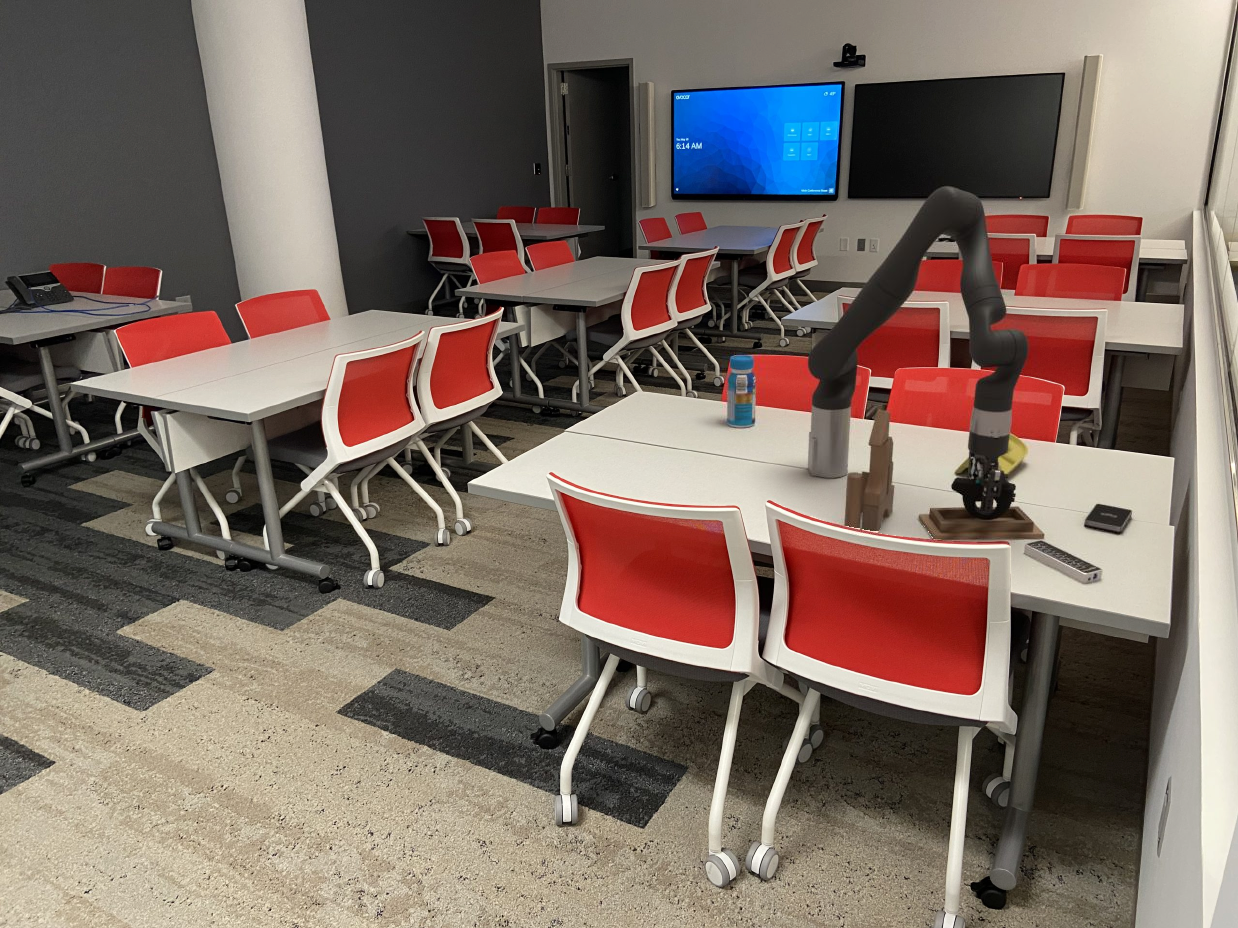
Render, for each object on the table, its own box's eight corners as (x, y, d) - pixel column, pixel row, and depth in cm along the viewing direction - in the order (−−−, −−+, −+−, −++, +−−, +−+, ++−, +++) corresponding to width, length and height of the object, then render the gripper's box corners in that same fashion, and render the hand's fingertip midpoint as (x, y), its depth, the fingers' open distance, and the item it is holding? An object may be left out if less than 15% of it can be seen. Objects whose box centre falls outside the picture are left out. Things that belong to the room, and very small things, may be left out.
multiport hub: (1039, 550, 174) (1041, 539, 173) (1102, 580, 161) (1103, 569, 161) (1022, 554, 173) (1023, 543, 172) (1083, 585, 160) (1085, 574, 159)
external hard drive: (1131, 518, 186) (1132, 510, 186) (1120, 537, 178) (1121, 527, 178) (1095, 511, 190) (1096, 503, 190) (1082, 529, 182) (1084, 520, 182)
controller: (1011, 526, 179) (1017, 480, 175) (947, 517, 184) (951, 472, 181) (1012, 518, 182) (1018, 473, 179) (949, 509, 188) (954, 465, 184)
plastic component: (1004, 476, 205) (967, 451, 209) (987, 499, 210) (951, 474, 214) (1034, 448, 218) (998, 425, 222) (1018, 470, 223) (983, 447, 227)
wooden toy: (862, 507, 197) (868, 399, 188) (892, 512, 194) (900, 402, 185) (842, 533, 184) (848, 418, 176) (874, 538, 181) (882, 422, 172)
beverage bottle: (720, 424, 258) (720, 357, 251) (739, 418, 263) (739, 352, 256) (743, 430, 252) (743, 362, 245) (761, 423, 257) (762, 356, 251)
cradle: (933, 540, 179) (934, 526, 178) (918, 518, 190) (919, 505, 189) (1043, 538, 178) (1045, 524, 177) (1023, 516, 188) (1024, 503, 187)
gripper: (959, 418, 184) (951, 494, 189) (983, 440, 170) (974, 521, 176) (996, 418, 183) (987, 493, 189) (1022, 440, 170) (1012, 520, 175)
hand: (981, 506), depth 182 cm, fingers open, 5 cm apart
